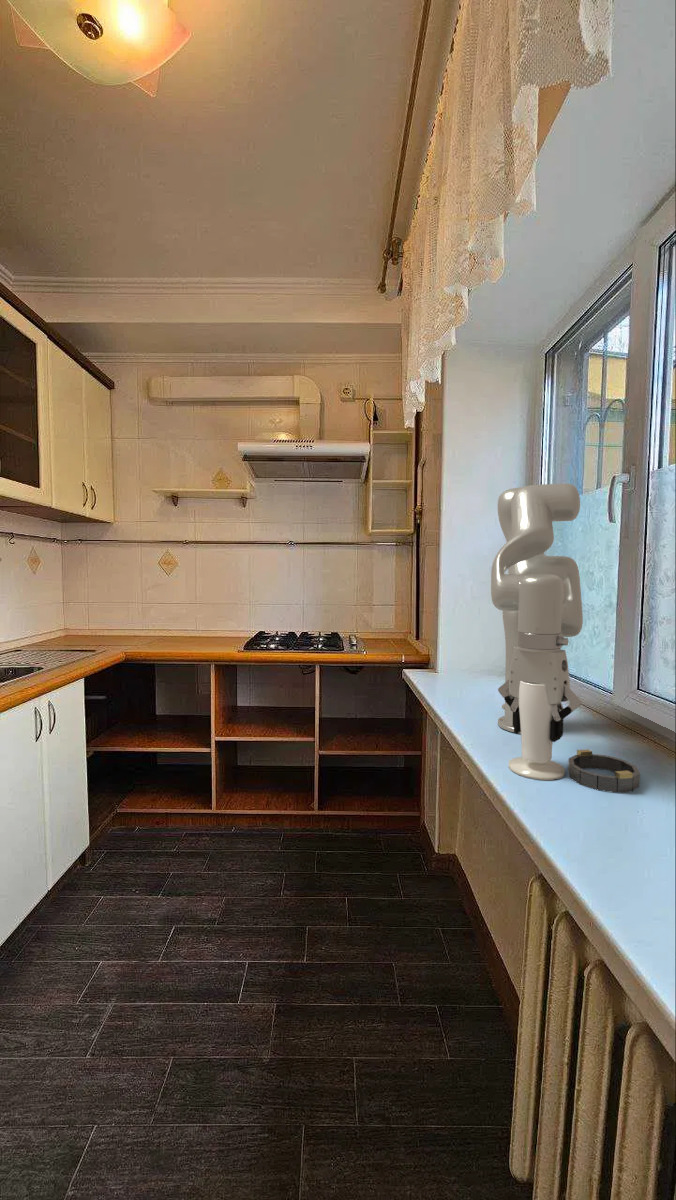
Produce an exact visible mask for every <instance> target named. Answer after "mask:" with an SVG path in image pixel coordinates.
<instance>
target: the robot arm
mask: <svg viewBox="0 0 676 1200" xmlns="http://www.w3.org/2000/svg"><path fill="white" fill-rule="evenodd" d="M580 498H581V497H580V493H579V491H578V489H577V487H576V486H575V485H574V484H572V483H549V484H547V483H546V484H532V485H525V486H520V487H513V488H509V489H507V490H505V491H503V492H502V493H500V495H499V496H498V500H497V516H498V522H499V525H500V528H501V531H502V533H503V535H504V539H505V540H506V543H505V544H504V545H502V547H501V548H500V549H499V551H497V554H496V555H495V557H494V559H493V561H492V565H491V570H490V571H491V572H490V577H491V579H490V596H491V597H490V598H491V602H492V605H493V607H495V608H496V609H498V610H499V611H502V614H501V615H502V622H503V628H504V629H503V630H504V637H505V638H504V639H505V640H504V641H505V674H504V675H505V682H504V683H503V684H502V685H500V686H499V687H498V688H497V691H498V693H499V694H500V695H501V697H502V698H504V703H503V704H502V705H501V709H502V710H504V715H503V716H501V717H499V718H498V720H497V725H498V726H499V727H500V728H501V729H503V730H505V731H508V732H510V733H511V732H512V733H515V734H520V735H521V728H520V715H519V687H520V681H522V682H525V683H530V684H538V685H545V687H546V694H547V700H548V704H549V705H551V712H552V715H553V720H551V723H550V740H551V741H552V742H553V743H555V742H557V741H559V740H561V738H562V737H563V736H564V719H566V717H568V716H569V715H570V714H572V713H574V711H576V710H577V709H578V708H579V707H581V706H582V705H583V701H582V700H581V699H580V698H579V697H578V695H576V693H575V692H574V691H573V690H572V689H571V685H570V670H569V664H568V657H567V652H566V650H565V649H561V648H563V646H568V645H569V643H570V642H569V638H572V637H576V636H578V635H579V634H580V633H581V632H582V629H583V623H584V614H583V613H584V612H583V603H582V601H583V600H582V591H581V580H580V579H581V578H580V571H579V570H580V569H579V566H578V564H577V562H576V561H575V559H573V558H572V557H570V556H565V555H562V556H561V555H545V552H547V551H548V550H549V549H550V548H551V547H552V545H553V543H554V541H555V540H554V539H555V535H554V527H553V522H573V521H574V520H576V519H577V517H578V515H579V513H580V509H581V499H580ZM506 571H508V573H507V574H506ZM568 701H569V704H567V706H565V707H564V706H563V703H564V702H568Z"/></svg>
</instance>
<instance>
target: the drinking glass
mask: <svg viewBox="0 0 676 1200" xmlns="http://www.w3.org/2000/svg"><path fill="white" fill-rule="evenodd" d="M519 715H520V728H521V734H520V738H521V739H520V741H521V757H523V758H524V759H526V760H528V761H530V762H534V763H546V762H549V761H550V760H551V761H552V758H553V743H554V742H552V741H551V740H550V723H551V720H553V715H552V712H551V705H549V704H548V700H547V694H546V687H545V685H538V684H530V683H525V682H522V681H520V687H519Z"/></svg>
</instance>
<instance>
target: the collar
mask: <svg viewBox="0 0 676 1200" xmlns="http://www.w3.org/2000/svg"><path fill="white" fill-rule="evenodd" d="M567 765H568V766H567V769H568V771H567V773H568V777H569V779H571V780H572V779H573V780H572V781H574V782H575V781H576V783H577V784H578V783H579V784H578V785H581V786H584V787H587V788H590V789H592V788H593V790H595V789H596V791H600V790H605V791H604V792H607V791H612V792H611V793H614V792H621V793H630V792H629V791H632V792H634V791H636V790H637V789H638V788H640V781H641V779H640V778H641V773H640V770H639V768H638V766H637V765H635V764H633V763H631V762H629V761H627V760H625V759H623V758H618V757H614V756H611V755H604V754H599V753H598V754H595V753H593V751H592V750H590V749H588V748H587V749H576V754H574V755H572V756H570V757H569V758H568V764H567ZM596 768H598V769H597V770H604V769H606V771H609V772H613V773H614V776H613V775H605V774H597V773H595V772H592V771H590V770H589V771H588V770H585V769H596ZM597 789H598V790H597Z"/></svg>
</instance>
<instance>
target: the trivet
mask: <svg viewBox="0 0 676 1200" xmlns="http://www.w3.org/2000/svg"><path fill="white" fill-rule="evenodd" d="M508 769H509V771H511V772H512V773H513V774H515V775H517V774H518V775H517V776H520V777H522V776H523V778H527V779H530V778H531V779H530V780H535V779H538V781H555V780H554V779H557V780H560V779H563V778H564V777H565V775H566V768H565V767H564V766H563V765H562V764H561V763H559V762H556V761H553V760H552V759H551V760H550V761H549V762H546V763H534V762H530V761H528V760H526V759H524V758H523V757H522V756H518V757H515V758H511V759H510V760H509V761H508ZM563 776H564V777H563ZM559 778H560V779H559Z"/></svg>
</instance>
